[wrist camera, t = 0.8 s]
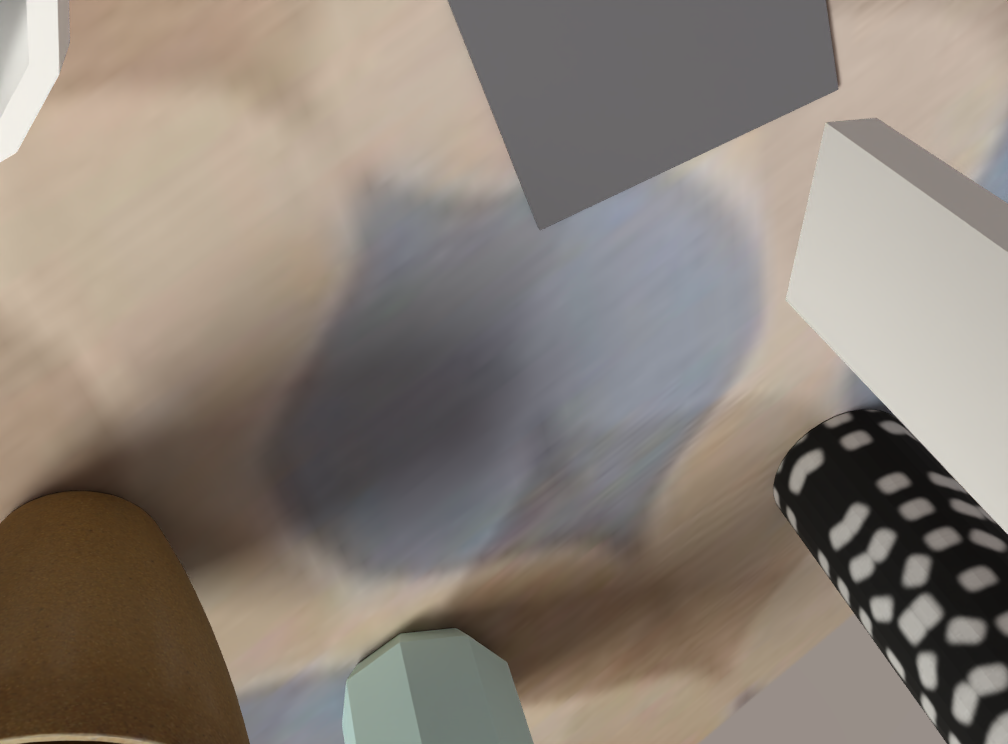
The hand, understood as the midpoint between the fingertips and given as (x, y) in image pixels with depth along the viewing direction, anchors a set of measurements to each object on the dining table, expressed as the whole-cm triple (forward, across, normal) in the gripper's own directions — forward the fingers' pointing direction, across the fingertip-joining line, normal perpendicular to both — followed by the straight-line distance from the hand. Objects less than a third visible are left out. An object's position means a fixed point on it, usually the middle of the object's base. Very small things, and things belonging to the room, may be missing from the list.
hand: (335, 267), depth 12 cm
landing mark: (+25, +15, -4) cm, 29 cm away
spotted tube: (+24, +29, -31) cm, 49 cm away
